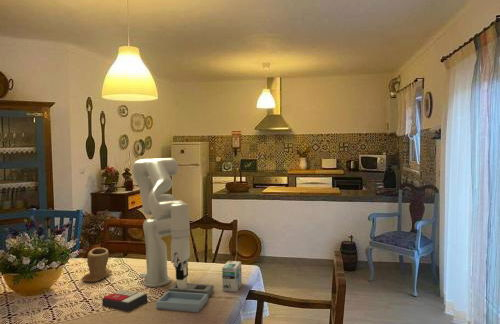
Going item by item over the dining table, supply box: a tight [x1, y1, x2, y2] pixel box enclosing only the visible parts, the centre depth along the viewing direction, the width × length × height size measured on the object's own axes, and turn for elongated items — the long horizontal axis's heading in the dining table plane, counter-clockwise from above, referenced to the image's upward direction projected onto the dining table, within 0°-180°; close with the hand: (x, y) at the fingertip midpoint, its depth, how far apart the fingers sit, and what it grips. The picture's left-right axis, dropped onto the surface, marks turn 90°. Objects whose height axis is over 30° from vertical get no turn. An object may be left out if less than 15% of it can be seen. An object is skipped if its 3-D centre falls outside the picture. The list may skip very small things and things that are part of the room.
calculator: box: [101, 289, 148, 312], centre depth 164 cm, size 11×4×15 cm
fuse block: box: [167, 281, 214, 298], centre depth 173 cm, size 18×8×3 cm, turn 77°
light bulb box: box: [221, 260, 243, 293], centre depth 179 cm, size 11×7×11 cm, turn 168°
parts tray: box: [155, 290, 209, 313], centre depth 161 cm, size 18×11×3 cm, turn 77°
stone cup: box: [81, 247, 113, 283], centre depth 195 cm, size 15×12×15 cm
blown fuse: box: [178, 262, 188, 289], centre depth 161 cm, size 4×4×10 cm
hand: (182, 277), depth 161 cm, fingers closed on blown fuse, 3 cm apart
